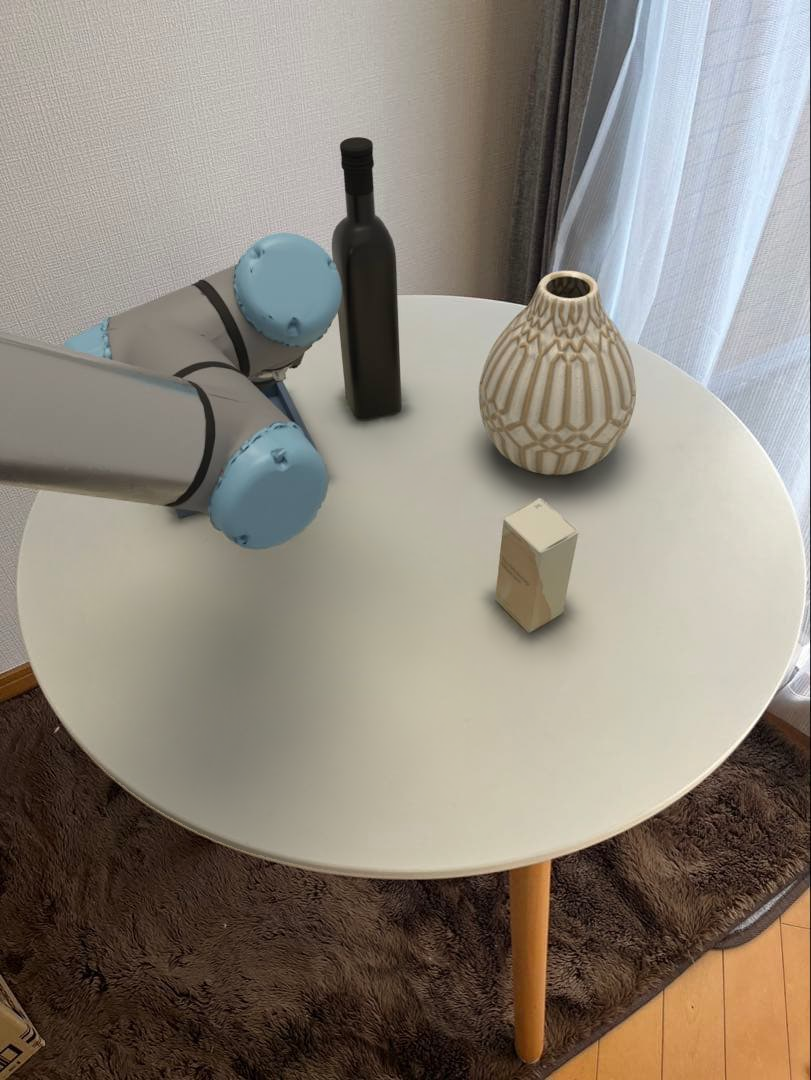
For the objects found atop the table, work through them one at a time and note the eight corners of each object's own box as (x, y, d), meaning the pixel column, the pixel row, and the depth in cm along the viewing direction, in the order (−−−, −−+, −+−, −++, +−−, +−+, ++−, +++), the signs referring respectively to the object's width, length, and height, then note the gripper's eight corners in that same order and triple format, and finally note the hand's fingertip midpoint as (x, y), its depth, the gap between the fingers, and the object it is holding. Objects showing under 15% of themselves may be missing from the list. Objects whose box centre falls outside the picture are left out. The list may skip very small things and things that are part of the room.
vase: (558, 386, 105) (577, 226, 91) (655, 460, 96) (693, 294, 81) (447, 437, 100) (448, 275, 85) (539, 521, 90) (558, 354, 76)
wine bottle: (389, 384, 106) (376, 126, 85) (404, 413, 103) (395, 150, 81) (343, 395, 105) (318, 135, 84) (356, 424, 102) (334, 160, 80)
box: (493, 599, 83) (499, 515, 75) (529, 578, 85) (539, 494, 77) (530, 636, 80) (540, 552, 72) (566, 614, 82) (580, 529, 74)
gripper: (152, 425, 72) (134, 463, 93) (379, 341, 79) (314, 394, 101) (113, 337, 71) (104, 396, 93) (345, 261, 79) (287, 331, 100)
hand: (213, 395), depth 97 cm, fingers open, 8 cm apart
